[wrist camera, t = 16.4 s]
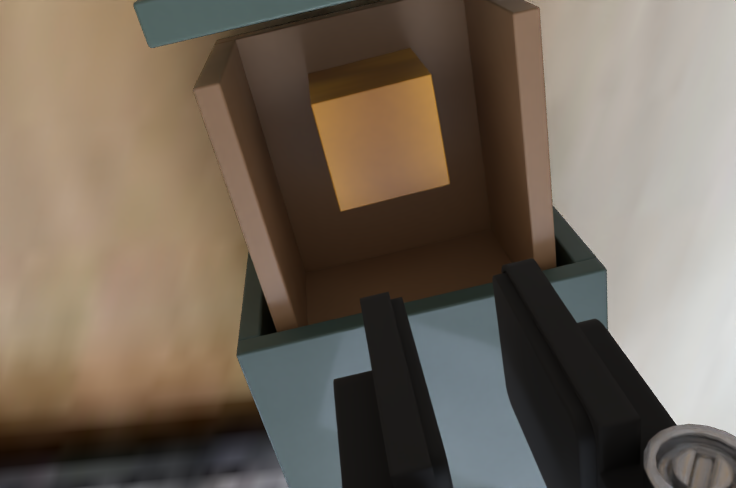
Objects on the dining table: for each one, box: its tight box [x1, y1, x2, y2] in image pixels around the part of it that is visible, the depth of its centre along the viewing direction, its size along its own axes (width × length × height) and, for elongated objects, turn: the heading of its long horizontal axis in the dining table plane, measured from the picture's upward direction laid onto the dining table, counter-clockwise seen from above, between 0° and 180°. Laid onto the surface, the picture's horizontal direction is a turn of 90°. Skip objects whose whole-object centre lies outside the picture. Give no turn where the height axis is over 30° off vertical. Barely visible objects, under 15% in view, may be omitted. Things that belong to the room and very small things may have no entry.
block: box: [308, 48, 450, 212], centre depth 23 cm, size 4×4×4 cm
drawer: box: [134, 0, 557, 332], centre depth 22 cm, size 18×11×7 cm, turn 12°
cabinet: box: [236, 206, 608, 488], centre depth 29 cm, size 15×13×9 cm
